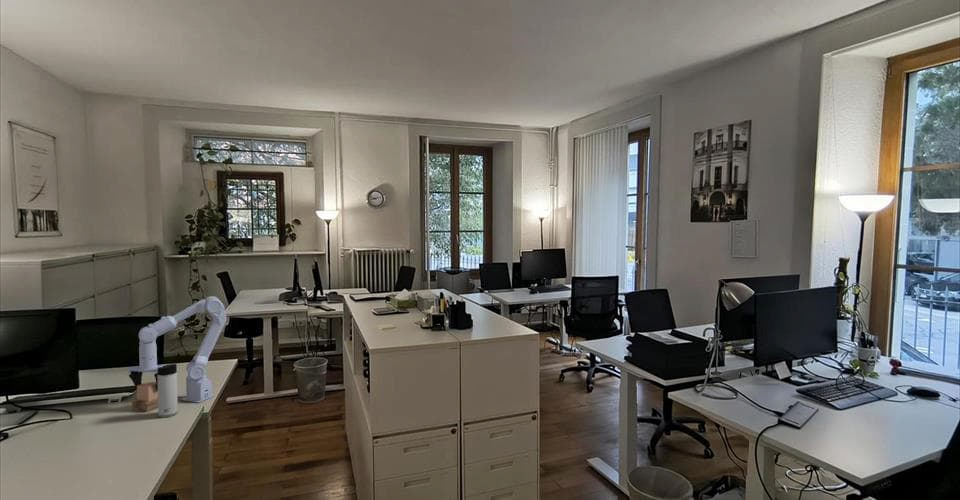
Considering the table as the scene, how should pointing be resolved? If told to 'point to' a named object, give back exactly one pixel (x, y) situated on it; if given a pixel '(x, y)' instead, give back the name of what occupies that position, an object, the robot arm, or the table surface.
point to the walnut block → (144, 405)
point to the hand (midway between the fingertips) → (148, 389)
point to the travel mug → (167, 391)
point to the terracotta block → (147, 391)
